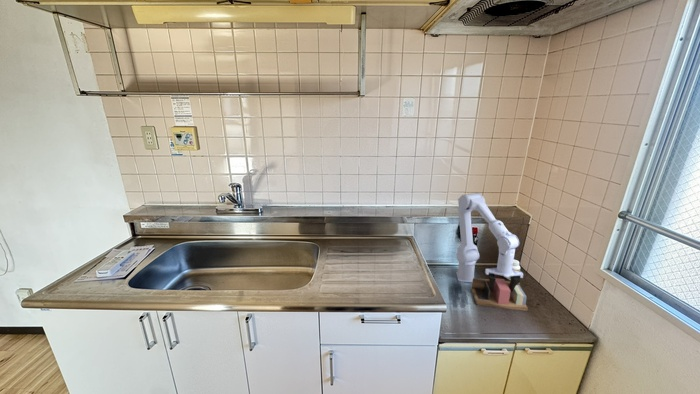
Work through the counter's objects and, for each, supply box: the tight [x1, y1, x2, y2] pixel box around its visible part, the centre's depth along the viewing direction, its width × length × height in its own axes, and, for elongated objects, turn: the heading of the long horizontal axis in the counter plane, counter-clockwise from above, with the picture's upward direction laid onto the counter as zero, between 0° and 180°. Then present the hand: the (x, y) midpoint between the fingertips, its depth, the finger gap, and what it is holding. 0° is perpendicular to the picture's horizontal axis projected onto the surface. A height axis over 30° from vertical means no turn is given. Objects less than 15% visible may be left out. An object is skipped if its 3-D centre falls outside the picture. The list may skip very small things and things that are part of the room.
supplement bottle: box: [506, 259, 521, 281], centre depth 141 cm, size 5×5×10 cm
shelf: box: [471, 277, 529, 312], centre depth 125 cm, size 12×20×6 cm, turn 78°
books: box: [510, 284, 527, 305], centre depth 124 cm, size 9×4×5 cm, turn 168°
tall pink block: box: [493, 278, 511, 305], centre depth 124 cm, size 9×4×7 cm, turn 168°
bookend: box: [475, 280, 490, 300], centre depth 128 cm, size 8×4×5 cm, turn 168°
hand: (501, 289), depth 124 cm, fingers open, 7 cm apart
